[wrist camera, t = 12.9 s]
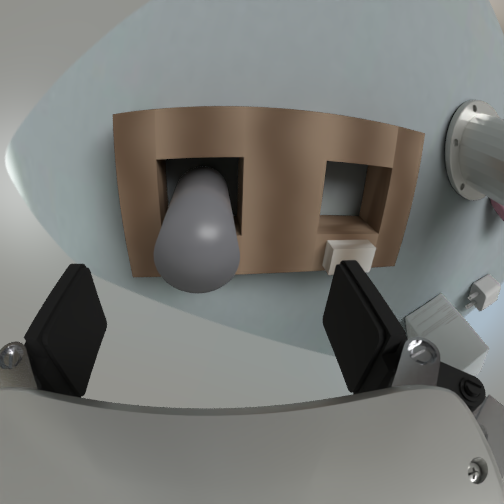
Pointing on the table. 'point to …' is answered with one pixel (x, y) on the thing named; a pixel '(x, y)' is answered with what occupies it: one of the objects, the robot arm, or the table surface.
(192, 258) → the charcoal plug
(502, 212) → the video game controller
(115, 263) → the table surface
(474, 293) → the usb wall charger
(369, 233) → the socket block
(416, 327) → the supplement box
